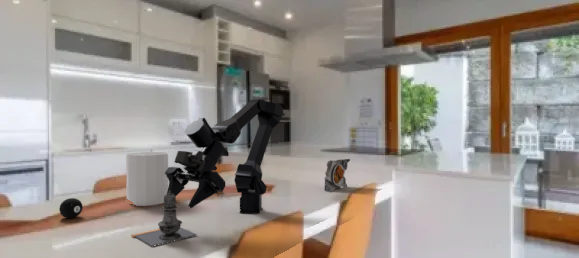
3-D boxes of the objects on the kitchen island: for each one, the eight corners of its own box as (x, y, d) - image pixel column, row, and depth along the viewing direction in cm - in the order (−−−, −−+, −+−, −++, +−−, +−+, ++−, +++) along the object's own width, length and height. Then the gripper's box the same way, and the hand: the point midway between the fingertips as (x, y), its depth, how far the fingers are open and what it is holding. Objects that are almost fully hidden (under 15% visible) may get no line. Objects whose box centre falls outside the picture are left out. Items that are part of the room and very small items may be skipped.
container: (143, 208, 125) (142, 156, 124) (118, 202, 132) (118, 154, 132) (176, 200, 137) (176, 153, 136) (152, 196, 144) (151, 151, 144)
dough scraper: (131, 236, 94) (131, 234, 93) (177, 226, 103) (177, 224, 103) (149, 247, 86) (149, 245, 86) (198, 235, 95) (198, 233, 95)
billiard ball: (74, 214, 115) (74, 195, 115) (86, 216, 113) (86, 197, 113) (55, 218, 110) (55, 199, 110) (67, 221, 107) (67, 201, 107)
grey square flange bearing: (332, 192, 152) (333, 161, 152) (324, 191, 155) (324, 161, 155) (350, 187, 164) (350, 158, 164) (341, 186, 167) (342, 158, 166)
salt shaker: (181, 239, 90) (181, 191, 90) (156, 241, 89) (156, 192, 89) (182, 232, 96) (182, 187, 96) (159, 234, 94) (158, 188, 94)
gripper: (169, 138, 103) (135, 183, 94) (217, 140, 93) (184, 190, 84) (191, 163, 110) (161, 206, 101) (237, 167, 100) (209, 216, 91)
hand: (177, 204), depth 94 cm, fingers open, 9 cm apart
